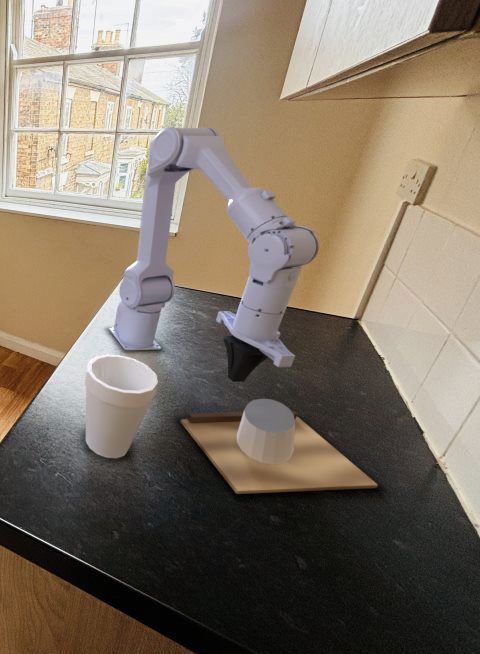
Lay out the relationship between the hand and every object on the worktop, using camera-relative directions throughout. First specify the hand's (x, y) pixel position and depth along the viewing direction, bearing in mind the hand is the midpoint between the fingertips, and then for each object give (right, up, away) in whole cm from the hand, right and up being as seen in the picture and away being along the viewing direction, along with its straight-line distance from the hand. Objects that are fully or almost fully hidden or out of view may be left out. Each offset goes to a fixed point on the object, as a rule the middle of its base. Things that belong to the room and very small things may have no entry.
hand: (236, 379), depth 67 cm
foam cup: (-24, -9, -5) cm, 26 cm away
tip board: (+1, -10, -7) cm, 12 cm away
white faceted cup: (-3, -3, -12) cm, 13 cm away
